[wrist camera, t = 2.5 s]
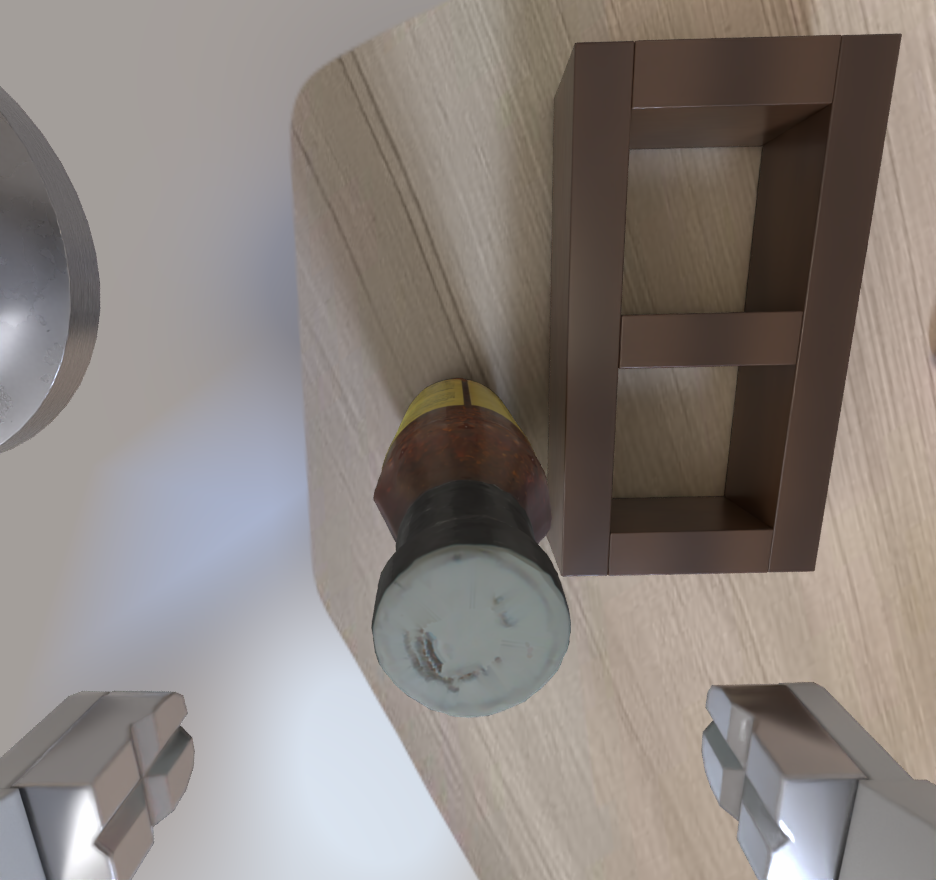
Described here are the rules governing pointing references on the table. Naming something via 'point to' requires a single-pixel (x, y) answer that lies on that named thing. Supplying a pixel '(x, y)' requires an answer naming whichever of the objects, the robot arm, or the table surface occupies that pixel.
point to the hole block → (713, 334)
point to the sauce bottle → (466, 558)
